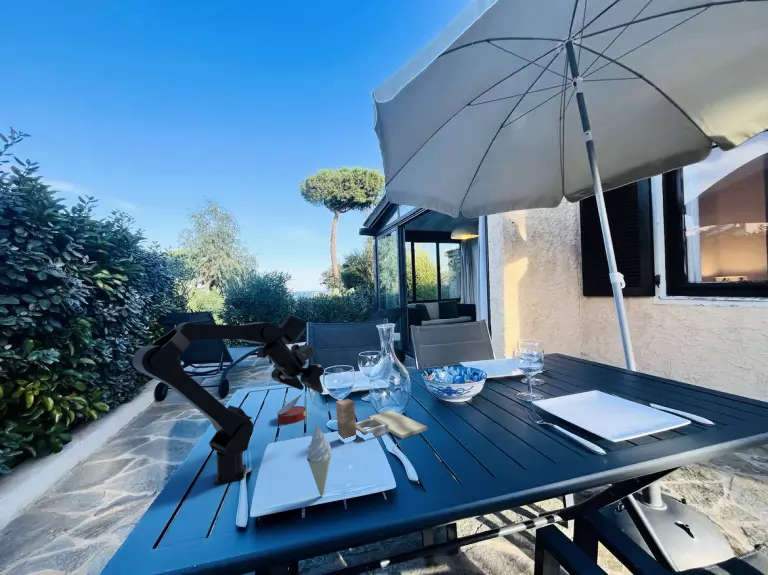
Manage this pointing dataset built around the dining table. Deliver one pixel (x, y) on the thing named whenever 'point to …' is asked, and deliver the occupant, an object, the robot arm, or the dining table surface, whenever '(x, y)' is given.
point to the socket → (390, 425)
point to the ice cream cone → (319, 458)
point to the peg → (346, 418)
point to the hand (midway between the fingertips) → (312, 390)
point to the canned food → (291, 413)
